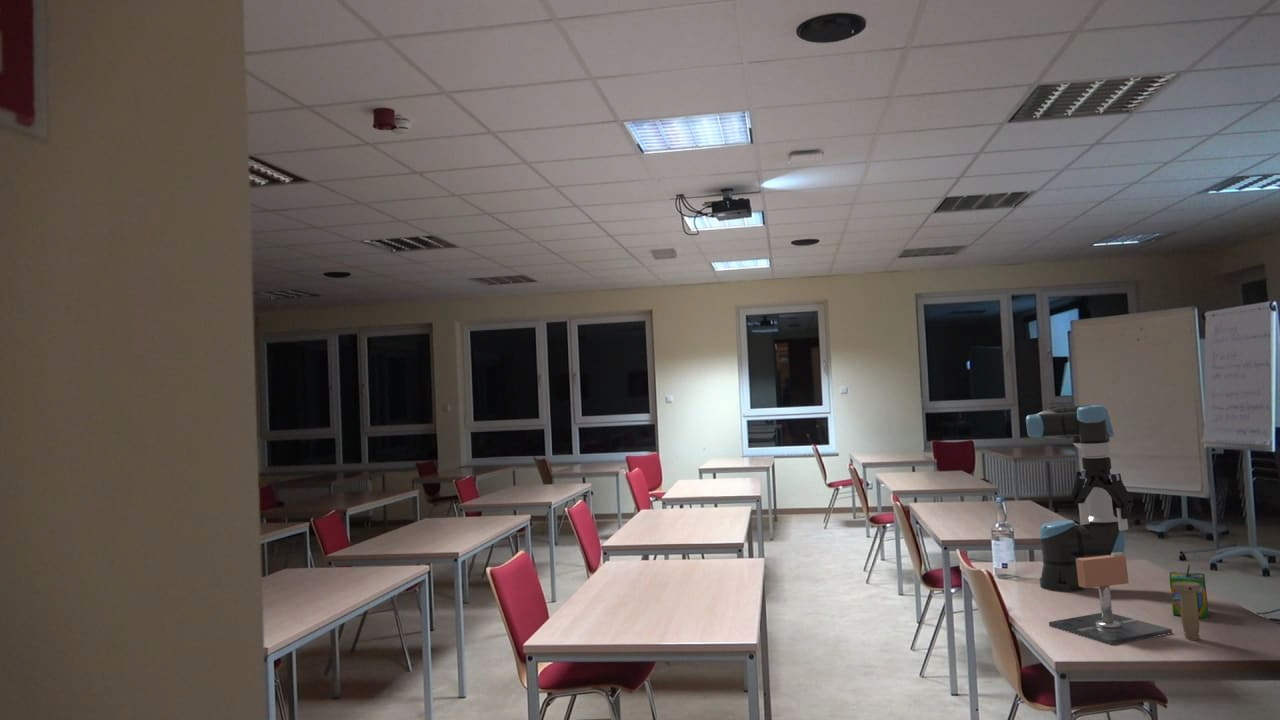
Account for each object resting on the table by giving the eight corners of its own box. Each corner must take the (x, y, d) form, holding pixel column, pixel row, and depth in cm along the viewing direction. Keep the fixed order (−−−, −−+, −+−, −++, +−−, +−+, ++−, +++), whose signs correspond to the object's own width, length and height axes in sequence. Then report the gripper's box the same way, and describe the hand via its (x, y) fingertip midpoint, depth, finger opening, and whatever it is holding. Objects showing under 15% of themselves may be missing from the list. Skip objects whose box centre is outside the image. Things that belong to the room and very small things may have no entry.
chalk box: (1173, 608, 244) (1167, 560, 245) (1208, 610, 239) (1202, 562, 240) (1172, 615, 237) (1166, 566, 238) (1209, 618, 231) (1203, 568, 232)
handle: (1209, 641, 211) (1203, 585, 213) (1183, 641, 213) (1176, 586, 214) (1201, 636, 216) (1194, 581, 217) (1175, 636, 217) (1168, 582, 219)
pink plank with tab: (1078, 586, 229) (1075, 556, 230) (1121, 581, 231) (1117, 551, 232) (1085, 588, 226) (1082, 557, 227) (1128, 583, 228) (1125, 553, 229)
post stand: (1106, 615, 241) (1101, 574, 242) (1172, 633, 220) (1166, 588, 221) (1049, 626, 235) (1044, 583, 236) (1111, 645, 214) (1105, 598, 215)
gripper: (1142, 457, 225) (1151, 530, 223) (1072, 454, 249) (1079, 520, 247) (1122, 459, 222) (1130, 534, 221) (1053, 456, 246) (1060, 523, 245)
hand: (1103, 527), depth 234 cm, fingers open, 13 cm apart
